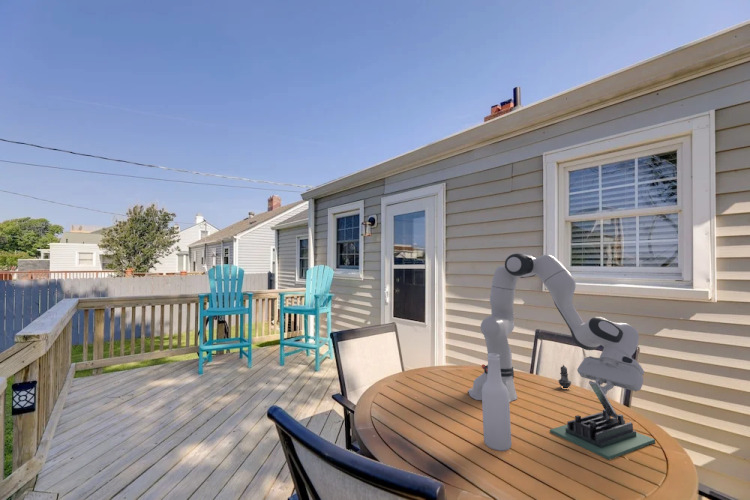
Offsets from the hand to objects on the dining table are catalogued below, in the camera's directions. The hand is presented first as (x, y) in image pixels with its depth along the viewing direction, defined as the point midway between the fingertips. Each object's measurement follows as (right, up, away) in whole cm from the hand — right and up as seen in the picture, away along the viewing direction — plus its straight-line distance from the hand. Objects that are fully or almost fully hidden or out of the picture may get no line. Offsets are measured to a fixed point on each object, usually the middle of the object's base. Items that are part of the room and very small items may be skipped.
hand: (600, 391), depth 113 cm
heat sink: (-2, -15, -2) cm, 15 cm away
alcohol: (-40, -15, -7) cm, 44 cm away
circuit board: (-2, -15, -2) cm, 15 cm away
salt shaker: (+17, -21, +49) cm, 56 cm away
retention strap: (+1, -3, 0) cm, 4 cm away
